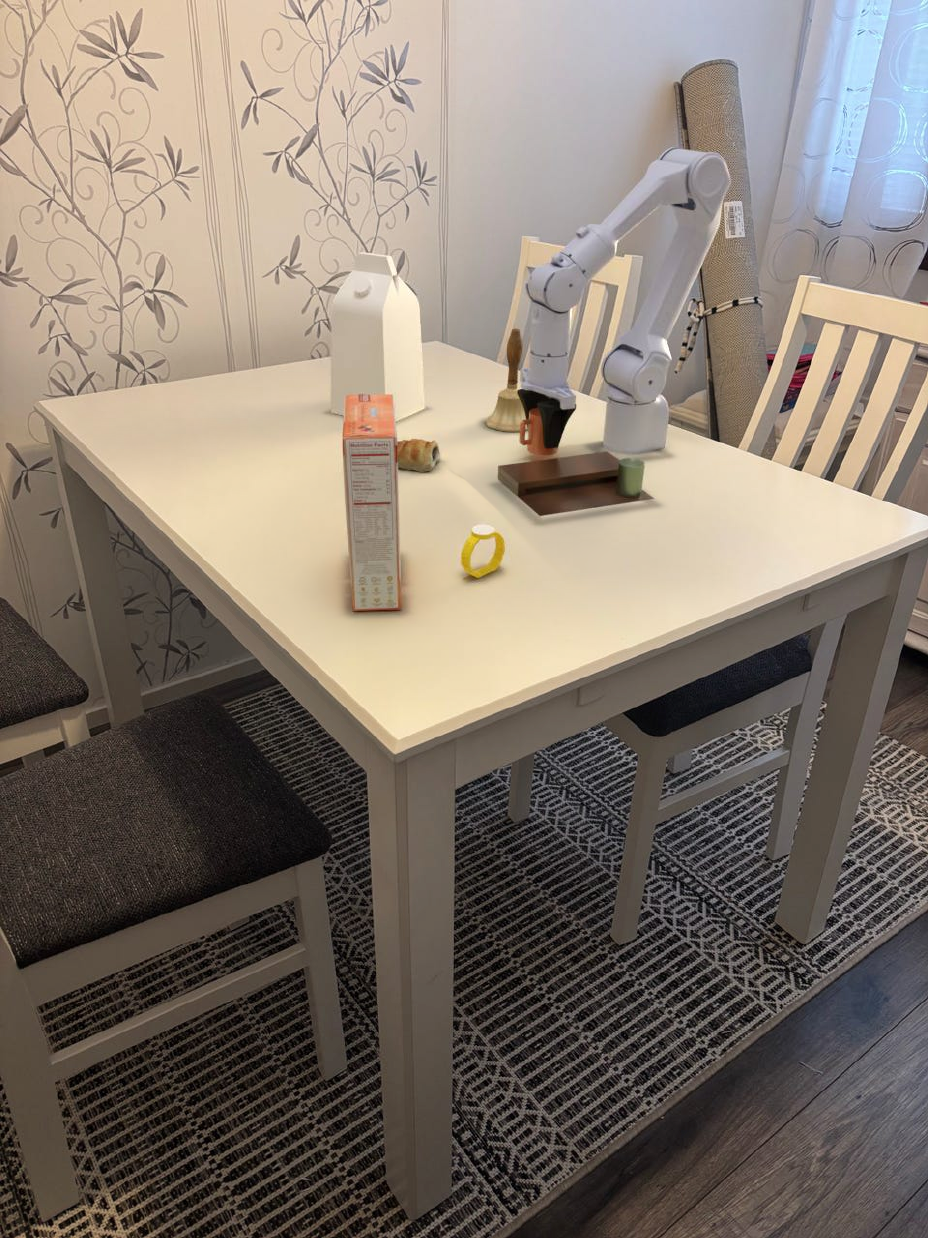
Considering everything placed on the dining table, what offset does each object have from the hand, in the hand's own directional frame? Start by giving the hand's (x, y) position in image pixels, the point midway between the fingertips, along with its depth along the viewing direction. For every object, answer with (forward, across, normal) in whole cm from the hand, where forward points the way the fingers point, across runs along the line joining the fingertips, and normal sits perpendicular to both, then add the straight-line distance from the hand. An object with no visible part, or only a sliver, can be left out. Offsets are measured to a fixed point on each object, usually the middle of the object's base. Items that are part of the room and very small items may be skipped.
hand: (543, 441), depth 148 cm
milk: (+4, -32, -16) cm, 36 cm away
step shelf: (+4, +12, -1) cm, 13 cm away
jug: (+1, 0, 0) cm, 1 cm away
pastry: (+4, -6, -19) cm, 20 cm away
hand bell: (+4, -18, +3) cm, 19 cm away
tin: (+3, +16, +6) cm, 18 cm away
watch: (+4, +30, -23) cm, 38 cm away
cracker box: (+4, +28, -36) cm, 46 cm away
